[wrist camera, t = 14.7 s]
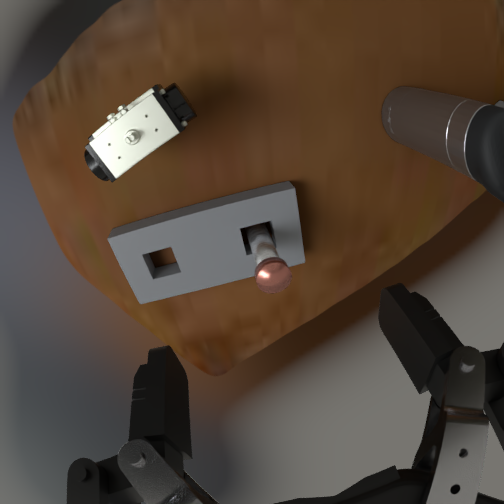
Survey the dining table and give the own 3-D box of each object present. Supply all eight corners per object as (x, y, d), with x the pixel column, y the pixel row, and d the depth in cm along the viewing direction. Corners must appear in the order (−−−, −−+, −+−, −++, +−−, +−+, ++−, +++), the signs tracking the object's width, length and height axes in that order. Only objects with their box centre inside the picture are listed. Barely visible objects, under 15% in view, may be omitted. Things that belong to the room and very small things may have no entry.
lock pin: (266, 212, 44) (289, 260, 33) (271, 236, 46) (293, 288, 36) (239, 219, 44) (253, 269, 33) (245, 243, 46) (260, 297, 35)
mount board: (288, 180, 42) (294, 188, 39) (299, 252, 48) (305, 262, 46) (112, 228, 41) (107, 238, 39) (142, 292, 48) (140, 304, 45)
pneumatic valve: (198, 110, 35) (198, 122, 25) (125, 162, 37) (98, 195, 27) (175, 76, 32) (164, 72, 22) (101, 131, 34) (65, 152, 24)
